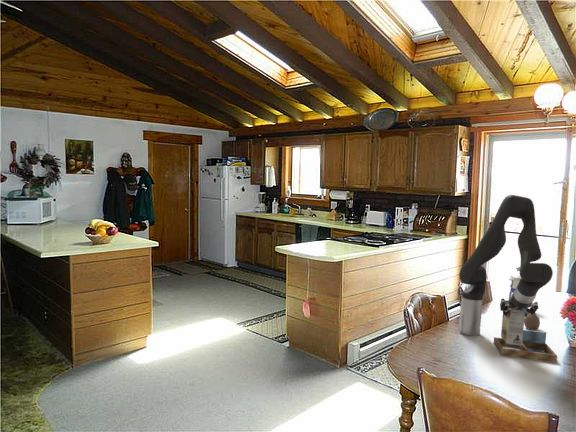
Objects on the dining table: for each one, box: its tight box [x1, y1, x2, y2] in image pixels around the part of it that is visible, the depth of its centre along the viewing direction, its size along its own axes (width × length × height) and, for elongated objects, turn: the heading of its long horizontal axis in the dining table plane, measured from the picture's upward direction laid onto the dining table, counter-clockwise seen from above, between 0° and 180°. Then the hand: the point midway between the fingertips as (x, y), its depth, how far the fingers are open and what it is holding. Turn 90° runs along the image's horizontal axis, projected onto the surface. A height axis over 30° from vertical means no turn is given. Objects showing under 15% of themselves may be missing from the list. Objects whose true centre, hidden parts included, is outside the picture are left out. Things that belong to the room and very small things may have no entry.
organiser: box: [493, 329, 558, 364], centre depth 181 cm, size 21×14×8 cm, turn 75°
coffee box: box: [500, 309, 525, 346], centre depth 182 cm, size 9×6×16 cm
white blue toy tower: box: [508, 266, 521, 301], centre depth 248 cm, size 8×9×25 cm
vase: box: [524, 312, 541, 331], centre depth 213 cm, size 7×7×9 cm
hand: (513, 314), depth 181 cm, fingers closed on coffee box, 6 cm apart
